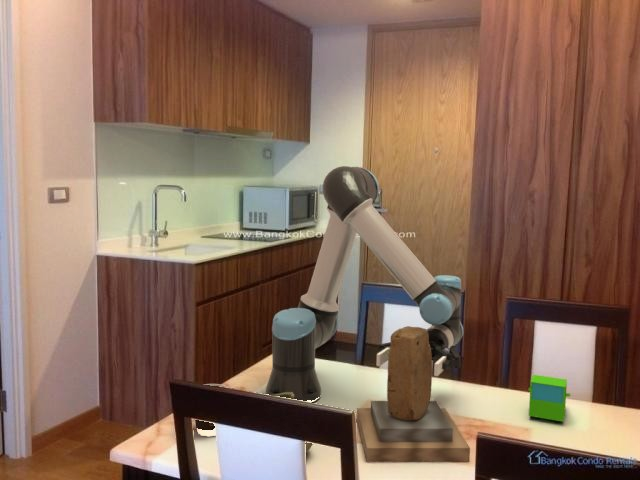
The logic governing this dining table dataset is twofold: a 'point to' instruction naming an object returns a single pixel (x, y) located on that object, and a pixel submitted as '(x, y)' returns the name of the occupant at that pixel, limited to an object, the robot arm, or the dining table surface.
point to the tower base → (409, 447)
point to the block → (409, 373)
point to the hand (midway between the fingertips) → (406, 365)
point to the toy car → (547, 397)
